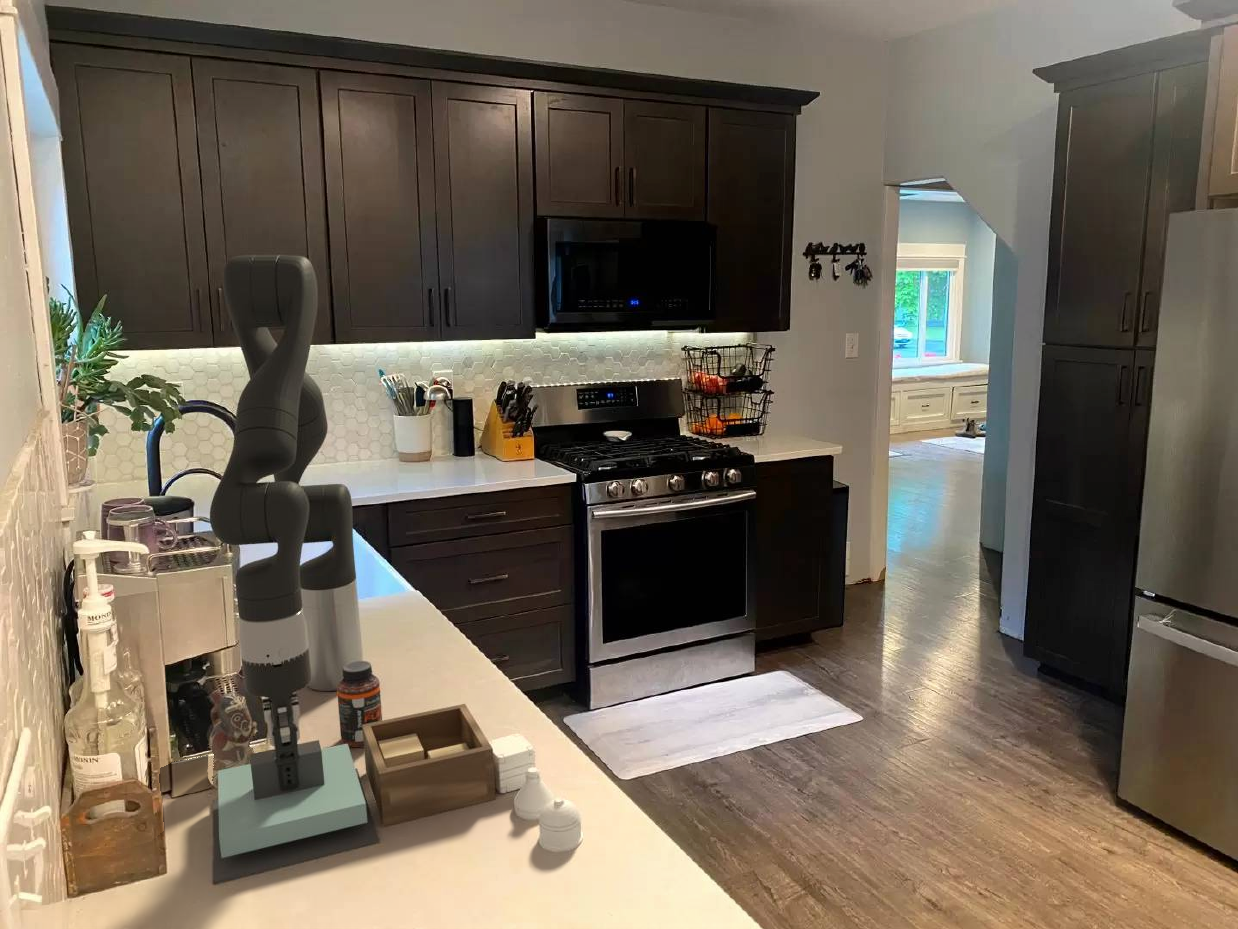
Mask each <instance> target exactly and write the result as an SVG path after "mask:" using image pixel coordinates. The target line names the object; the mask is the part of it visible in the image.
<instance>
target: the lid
mask: <svg viewBox="0 0 1238 929" xmlns="http://www.w3.org/2000/svg"><path fill="white" fill-rule="evenodd" d="M297 745H298V753H299V756H300V758H299V762H297V766H298V776H299V787H298V788H296V789H292V790H288V791H281V790H280V785H279V776H278V766H277V764H275V759H274V757H276V756H275V748H272V749H269V750H263V751H262V752H258V753H253V754H250V763H251V764H248V765H243V766H238V767H233V768H229V769H224V770H219V771H218V789H217V791H218V792H217V795H218V796H217V797H218V802H219V841H220V849H221V857H222V858H224V857H228V856H232V855H236V854H240V853H244V852H249V851H253V850H257V849H261V848H265V847H269V846H273V845H277V844H281V843H285V842H289V841H294V840H298V839H302V838H306V837H310V836H314V835H318V834H322V833H326V832H330V831H335V830H339V829H343V828H347V827H351V826H355V825H359V824H363V823H367V812H366V802H365V799H364V796H363V793H362V789H361V786H360V783H359V779H358V776H357V773H356V770H355V769H356V767H355V763H354V761H353V756H352V753H351V750H350V746H348V744H344V743H342V744H339V745H334V746H329V747H325V748H322V747H321V743H320V740H319V739H317V740H313V741H312V740H311V741H306V742H302V743H297Z"/></svg>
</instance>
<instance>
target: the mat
mask: <svg viewBox="0 0 1238 929" xmlns="http://www.w3.org/2000/svg"><path fill="white" fill-rule="evenodd" d="M355 770H356V773H357V776H358V779H359V783H360V786H361V789H362V793H363V796H364V799H365V802H366V812H367V823H363V824H359V825H355V826H351V827H347V828H343V829H339V830H335V831H330V832H326V833H322V834H318V835H314V836H310V837H306V838H302V839H298V840H294V841H289V842H285V843H281V844H277V845H273V846H269V847H265V848H261V849H257V850H253V851H249V852H244V853H240V854H236V855H232V856H228V857H224V858H222V857H221V849H220V841H219V802H218V799H213V800H212V883H213V884H212V885H216V884H220V883H223V882H224V883H225V882H228V881H233V880H236V879H239V878H244V877H245V878H246V877H248V876H253V875H256V874H260V873H264V872H268V871H272V870H276V869H280V868H283V867H288V866H291V865H296V864H299V863H303V862H307V861H311V860H312V861H313V860H314V859H315V860H316V859H319V858H323V857H326V856H327V857H328V856H331V855H335V854H340V853H342V852H346V851H350V850H355V849H359V848H362V847H367V846H371V845H374V844H378V843H380V837H379V835H378V832H377V828H376V825H375V822H374V819H373V816H372V812H371V808H370V805H369V802H368V800H367V796H366V792H365V790H364V789H365V788H364V786H363V783H362V780H361V775H360V773H359V771H358V770H359V769H358V768H356V767H355Z"/></svg>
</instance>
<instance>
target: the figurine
mask: <svg viewBox="0 0 1238 929" xmlns="http://www.w3.org/2000/svg"><path fill="white" fill-rule="evenodd" d="M211 697H212V700H213V702H214V706H213V707H212V708H211V709H210V718H211V722H212V723H211V724H212V726H213V728H212V731H210V735H209V738H208V745H209V748H210V749H211V750H212V752H213V754H214V758H213V759H214V760H213V762H214V763H213V764H214V766H213V767H214V768H213V776H212V778H213V779H212V781H213V786H214V787H215V788H214V787H213V788H214V789H216V788H217V789H216V790H218V771H219V770H224V769H229V768H233V767H238V766H243V765H248V764H251V763H250V754H253V753H254V751H253V748H251V747H250V746H249V745H250V741H252V739H253V736H254V735H255V734H256V732H258V729H257V725H258V724H257V721H253V720H252V716H251V713H250V711H249V708H248V706H247V700H246V697H245V696H243V695H241V694H240V693H238V692H235V691H231V692H227V693H225V694H224V695H222V693H221V692H220V690H219V689H216V690H214V691H213V692H212V693H211Z"/></svg>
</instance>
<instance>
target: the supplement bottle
mask: <svg viewBox="0 0 1238 929" xmlns="http://www.w3.org/2000/svg"><path fill="white" fill-rule="evenodd" d="M372 667H373V666H372V663H371V662H370V661H366V660H363V661H355V662H350V663H348V664H346V665H344V666H343V677H344V678H343V679H342V680H341V681H340V682H339V683H338V685H337V690H336V694H337V704H338V705H337V706H338V717H339V718H338V720H339V728H340V729H339V732H340V733H339V734H340V740H341V743H342V744H348V747H352V748H353V747H354V748H364V743H363V731H362V725H363V724H368V723H373V722H378V721H383V713H382V712H383V711H382V698H381V684H380V680H379V678H378V677H377V676H376V675H374V674H373V669H372Z"/></svg>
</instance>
